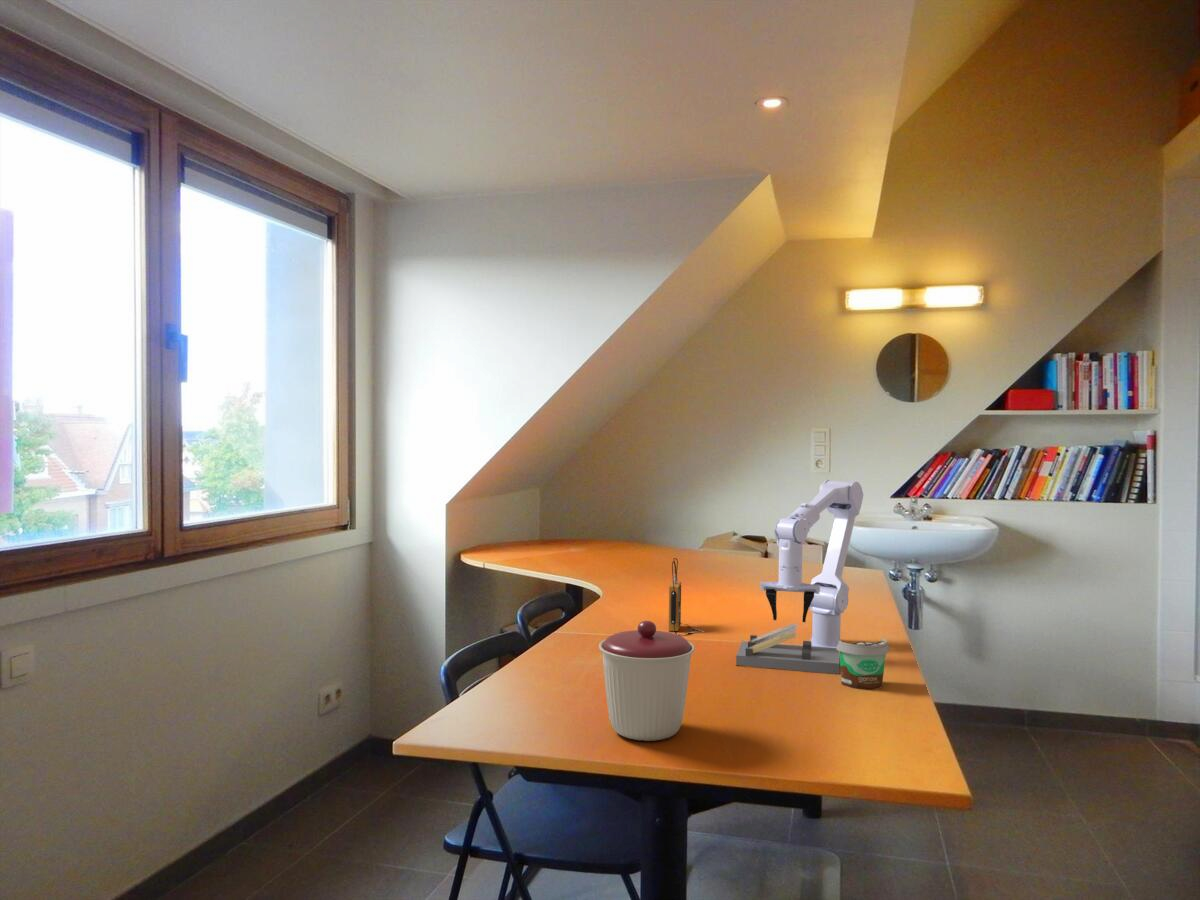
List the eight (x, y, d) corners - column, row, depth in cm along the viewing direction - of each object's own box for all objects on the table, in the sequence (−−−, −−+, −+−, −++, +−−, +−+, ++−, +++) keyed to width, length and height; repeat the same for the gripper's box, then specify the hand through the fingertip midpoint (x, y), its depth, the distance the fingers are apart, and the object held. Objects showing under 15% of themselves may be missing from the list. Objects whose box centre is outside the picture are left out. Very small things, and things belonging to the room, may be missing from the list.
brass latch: (749, 654, 205) (747, 650, 205) (750, 650, 208) (748, 647, 208) (795, 637, 202) (793, 633, 202) (796, 633, 205) (794, 629, 205)
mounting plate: (741, 650, 218) (741, 634, 218) (838, 658, 212) (838, 641, 212) (736, 665, 204) (736, 648, 204) (839, 674, 198) (839, 656, 198)
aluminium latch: (752, 646, 212) (750, 642, 213) (753, 642, 216) (751, 639, 216) (796, 629, 210) (795, 625, 210) (797, 626, 213) (795, 622, 213)
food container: (850, 693, 184) (851, 647, 184) (835, 684, 190) (836, 640, 190) (900, 689, 188) (900, 644, 187) (883, 680, 194) (884, 637, 193)
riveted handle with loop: (702, 637, 232) (703, 564, 231) (666, 635, 234) (667, 563, 233) (707, 624, 246) (707, 556, 245) (672, 623, 248) (673, 555, 247)
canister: (686, 715, 170) (688, 610, 169) (700, 749, 151) (702, 633, 151) (596, 715, 169) (597, 610, 168) (599, 750, 151) (600, 633, 150)
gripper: (759, 567, 209) (758, 621, 210) (820, 570, 205) (819, 626, 206) (761, 562, 216) (760, 615, 216) (820, 565, 212) (819, 619, 213)
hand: (789, 620), depth 212 cm, fingers open, 6 cm apart
